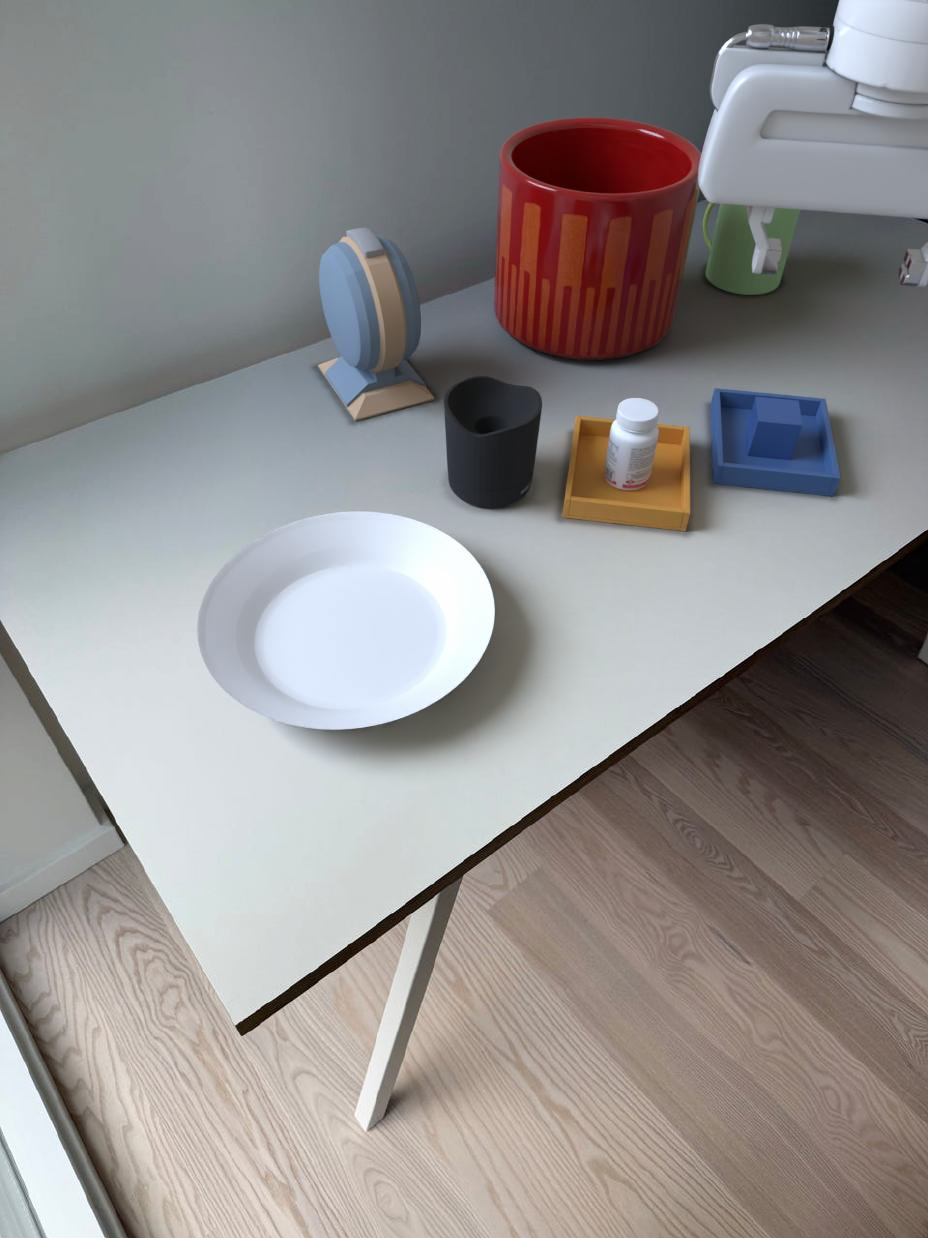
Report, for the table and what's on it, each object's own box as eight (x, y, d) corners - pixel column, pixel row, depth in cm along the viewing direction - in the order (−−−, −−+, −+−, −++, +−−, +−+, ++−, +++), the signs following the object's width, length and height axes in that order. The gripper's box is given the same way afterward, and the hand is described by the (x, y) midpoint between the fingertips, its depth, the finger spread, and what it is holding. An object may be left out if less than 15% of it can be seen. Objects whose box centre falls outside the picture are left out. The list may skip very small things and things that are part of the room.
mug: (794, 274, 124) (820, 184, 115) (757, 302, 118) (781, 210, 109) (715, 246, 129) (734, 158, 120) (676, 271, 124) (693, 182, 115)
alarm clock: (438, 404, 102) (435, 253, 89) (358, 425, 99) (344, 273, 86) (389, 344, 111) (381, 198, 98) (315, 362, 108) (296, 215, 95)
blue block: (787, 435, 98) (798, 400, 95) (790, 460, 95) (802, 425, 92) (745, 431, 98) (755, 396, 95) (747, 455, 95) (758, 420, 92)
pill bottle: (655, 470, 94) (669, 402, 87) (641, 497, 91) (655, 428, 84) (611, 458, 95) (622, 390, 89) (597, 484, 92) (607, 415, 86)
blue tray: (819, 416, 101) (825, 398, 99) (833, 496, 92) (840, 478, 90) (710, 405, 102) (714, 387, 100) (712, 483, 93) (717, 465, 91)
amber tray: (685, 445, 97) (689, 426, 95) (685, 531, 88) (690, 513, 86) (573, 433, 99) (576, 415, 97) (562, 517, 89) (564, 498, 87)
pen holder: (468, 523, 88) (469, 440, 81) (430, 469, 94) (428, 387, 87) (551, 497, 91) (560, 415, 84) (509, 446, 97) (514, 365, 89)
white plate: (147, 643, 78) (136, 616, 75) (356, 504, 90) (353, 476, 88) (344, 814, 66) (339, 788, 64) (551, 628, 79) (554, 600, 76)
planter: (556, 387, 105) (573, 213, 90) (461, 300, 118) (462, 136, 103) (709, 337, 112) (749, 169, 97) (603, 261, 126) (624, 103, 111)
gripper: (723, 39, 47) (676, 285, 58) (1133, 61, 45) (1008, 313, 55) (720, 6, 51) (676, 241, 62) (1095, 25, 49) (985, 266, 60)
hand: (836, 276), depth 59 cm, fingers open, 8 cm apart
